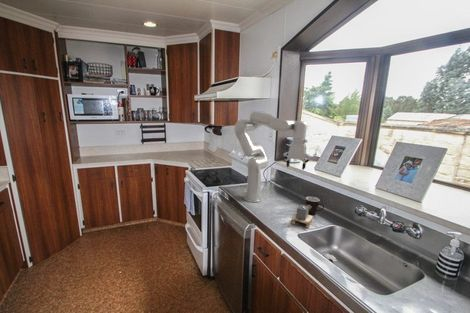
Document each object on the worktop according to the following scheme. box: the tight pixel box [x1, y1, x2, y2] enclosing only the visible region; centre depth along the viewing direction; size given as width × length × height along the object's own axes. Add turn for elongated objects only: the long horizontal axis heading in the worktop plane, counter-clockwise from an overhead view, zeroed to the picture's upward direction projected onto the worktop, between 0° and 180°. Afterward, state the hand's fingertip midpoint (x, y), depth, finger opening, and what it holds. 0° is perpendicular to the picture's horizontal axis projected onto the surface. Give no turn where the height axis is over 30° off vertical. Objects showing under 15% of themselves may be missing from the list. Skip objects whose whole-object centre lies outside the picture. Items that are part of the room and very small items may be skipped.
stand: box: [290, 211, 314, 230], centre depth 144 cm, size 10×10×4 cm
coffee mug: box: [305, 196, 325, 216], centre depth 156 cm, size 12×9×10 cm
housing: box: [295, 204, 309, 220], centre depth 143 cm, size 8×6×6 cm
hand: (295, 167), depth 152 cm, fingers open, 9 cm apart
